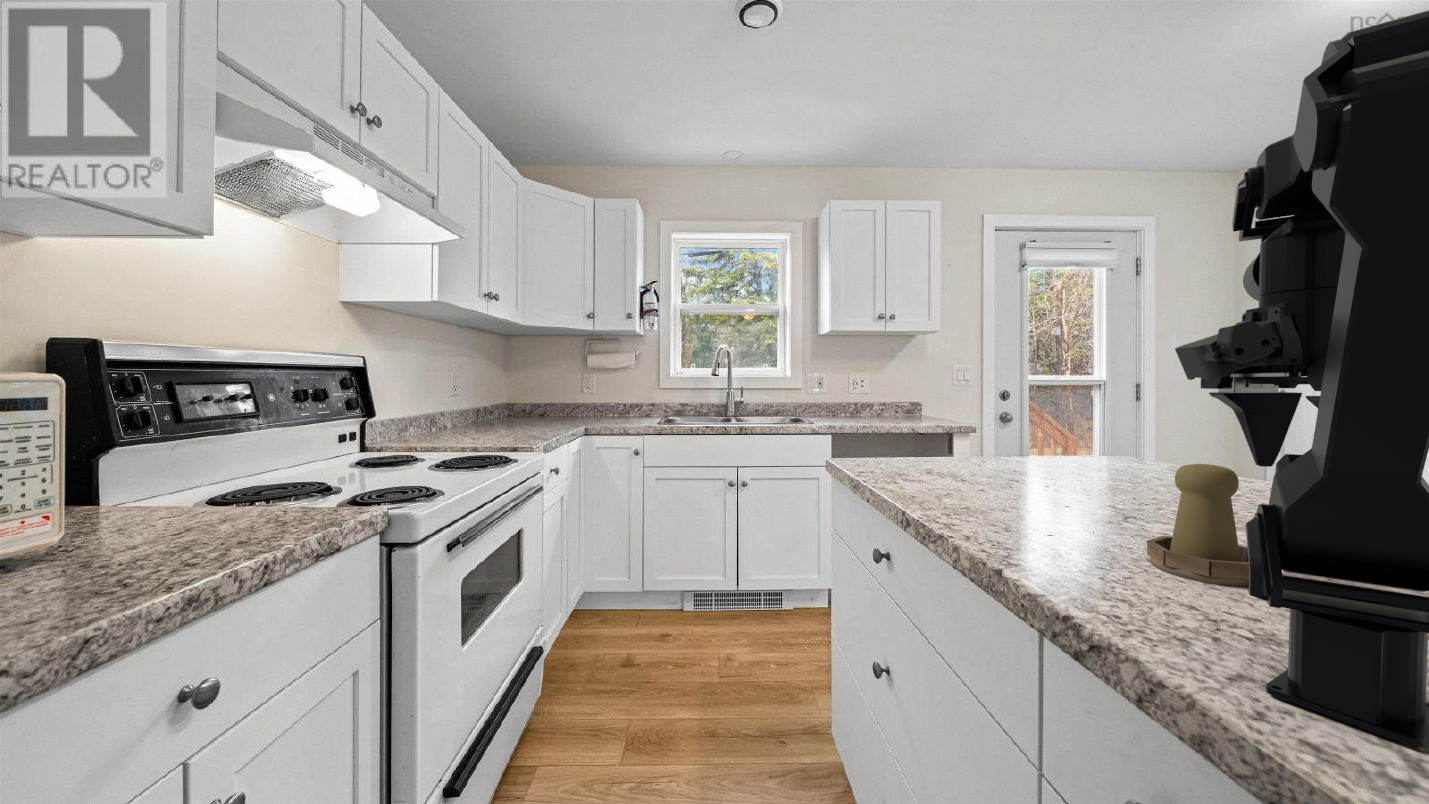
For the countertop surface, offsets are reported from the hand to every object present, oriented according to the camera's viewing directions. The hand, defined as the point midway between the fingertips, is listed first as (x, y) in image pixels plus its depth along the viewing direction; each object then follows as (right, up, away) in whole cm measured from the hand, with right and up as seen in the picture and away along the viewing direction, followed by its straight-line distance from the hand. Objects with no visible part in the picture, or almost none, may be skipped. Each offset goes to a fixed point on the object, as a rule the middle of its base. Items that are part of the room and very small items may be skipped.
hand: (1301, 474), depth 46 cm
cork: (+4, -12, +13) cm, 18 cm away
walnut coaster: (+4, -13, +13) cm, 19 cm away
